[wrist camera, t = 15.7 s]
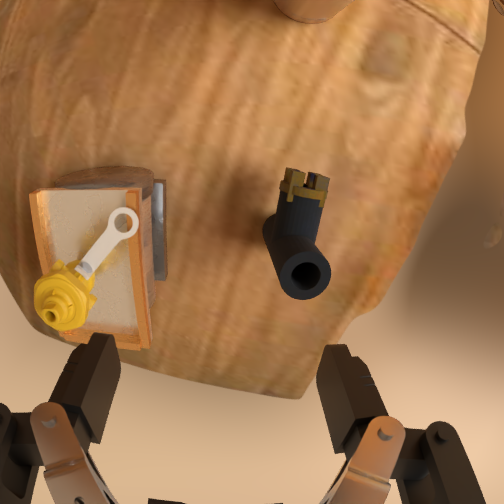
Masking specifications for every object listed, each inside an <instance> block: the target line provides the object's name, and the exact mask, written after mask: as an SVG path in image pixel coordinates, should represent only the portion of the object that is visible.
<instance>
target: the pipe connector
mask: <svg viewBox="0 0 504 504" xmlns="http://www.w3.org/2000/svg"><path fill="white" fill-rule="evenodd" d="M305 174H306V173H304V172H300V171H299V170H297V169H292V168H287V167H286V170H285V176H284V180H282V181H281V182H280V187H279V190H280V195H279V200H278V205H277V211H276V214H275V215H272V216H271V217H269V218H268V219H267V220H266V222H265V224H264V226H263V237H264V240H265V242H266V245H267V248H268V251H269V254H270V256H271V259H272V262H273V265H274V267H275V270H276V273H277V276H278V279H279V281H280V284H281V287H282V289H283V290H284V292H285V293H286V294H287V295H289V296H290V297H292V298H294V299H299V300H306V299H311V298H314V297H316V296H318V295H319V294H320V293H322V292H323V291H324V290H325V289H326V287H327V286H328V284H329V281H330V278H331V268H330V265H329V263H328V261H327V260H326V258H325V257H324V256H323V254H322V253H321V252H320V251H319V249H318V248H317V247H316V246H315V240H316V236H317V232H318V227H319V223H320V218H321V214H322V210H323V208H324V203H325V200H326V198H327V193H328V191H327V189H328V184H329V180H330V178H328V177H325V176H322V175H321V174H317V173H312V172H308V176H307V181H306V184H305V183H304V179H305Z"/></svg>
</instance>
